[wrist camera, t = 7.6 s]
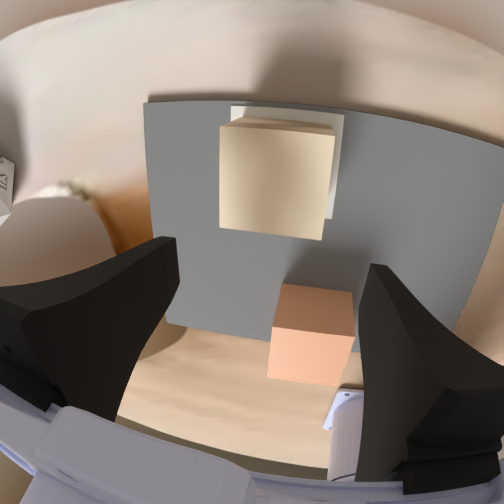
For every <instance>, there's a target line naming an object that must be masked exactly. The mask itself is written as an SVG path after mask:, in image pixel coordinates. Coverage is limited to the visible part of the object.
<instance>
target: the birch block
mask: <svg viewBox="0 0 504 504" xmlns="http://www.w3.org/2000/svg"><path fill="white" fill-rule="evenodd" d="M334 141H335V135H334V132H333V129H332V126H331V124H323V123H315V122H306V121H297V120H286V119H274V118H260V117H240V118H238V119H236V120H233V121H231V122H229V123H226V124H224V125H222V126H220V152H219V226H220V228H227V229H235V230H244V231H252V232H260V233H268V234H275V235H283V236H291V237H299V238H306V239H314V240H321V239H322V233H323V226H324V220H325V213H326V206H327V198H328V191H329V183H330V176H331V167H332V159H333V150H334Z"/></svg>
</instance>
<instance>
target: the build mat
mask: <svg viewBox="0 0 504 504" xmlns="http://www.w3.org/2000/svg"><path fill="white" fill-rule="evenodd" d="M143 108H144V133H145V151H146V165H147V178H148V190H149V200H150V210H151V219H152V228H153V236H154V238H157V237H160V236H167V237H175V238H176V244H177V255H178V265H179V275H180V284H179V286H178V289H177V291H176V294H175V296H174V298H173V300H172V302H171V304H170V306H169V307H168V309H167V311H166V312H165V315H166V320H167V323H172V324H176V325H181V326H186V327H191V328H196V329H201V330H206V331H211V332H216V333H222V334H227V335H233V336H239V337H245V338H251V339H257V340H263V341H270V342H271V334H272V325H273V321H274V316H275V312H276V307H277V303H278V298H279V294H280V289H281V284H282V283H284V284H292V285H299V286H307V287H315V288H322V289H330V290H338V291H346V292H352V300H353V312H354V325H355V339H354V342H353V345H352V348H351V351H350V352H359V353H361V352H360V343H359V334H358V308H359V304H360V301H361V297H362V294H363V290H364V286H365V283H366V279H367V275H368V272H369V268H370V264H371V263H374V264H382V265H387V266H388V267H389V268H390V269H391V270H392V271H393V272H394V273H395V274H396V276H397V277H398V278H399V279H400V280H401V281H402V283H403V284H404V285H405V286H406V287H407V288H408V289H409V291H410V292H411V293H412V294H413V295H414V296H415V297H416V298H417V299H418V301H419V302H420V303H421V304H422V305H423V306H424V307H425V308H426V309H427V310H428V311H429V312H430V313H431V314H432V315H433V316H434V317H435V318H436V319H437V320H438V321H439V322H441V323H442V324H443V325H444V326H445V327H446V328H447V329H449V330H450V331H451V332H452V330H453V328H454V326H455V324H456V322H457V320H458V318H459V316H460V314H461V312H462V310H463V308H464V306H465V303H466V301H467V299H468V297H469V295H470V292H471V290H472V288H473V286H474V283H475V281H476V278H477V276H478V274H479V271H480V269H481V266H482V264H483V261H484V258H485V256H486V253H487V250H488V248H489V245H490V242H491V239H492V236H493V233H494V230H495V227H496V224H497V221H498V218H499V214H500V211H501V208H502V204H503V201H504V147H501V146H498V145H495V144H492V143H489V142H486V141H483V140H480V139H477V138H473V137H470V136H467V135H463V134H460V133H456V132H453V131H449V130H445V129H441V128H437V127H433V126H429V125H425V124H421V123H417V122H412V121H408V120H403V119H398V118H393V117H388V116H383V115H377V114H371V113H365V112H359V111H353V110H346V109H338V108H331V107H323V106H314V105H304V104H292V103H279V102H263V101H237V100H190V101H165V102H149V103H143ZM240 117H260V118H274V119H286V120H297V121H306V122H315V123H323V124H331V126H332V129H333V132H334V135H335V141H334V150H333V159H332V167H331V176H330V183H329V191H328V198H327V206H326V213H325V220H324V226H323V233H322V239H321V240H314V239H306V238H299V237H291V236H283V235H275V234H268V233H260V232H252V231H244V230H235V229H227V228H220V226H219V152H220V126H222V125H224V124H226V123H229V122H231V121H233V120H236V119H238V118H240Z"/></svg>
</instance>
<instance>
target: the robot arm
mask: <svg viewBox="0 0 504 504" xmlns="http://www.w3.org/2000/svg"><path fill="white" fill-rule="evenodd" d="M179 284H180V275H179V265H178V255H177V244H176V238H175V237H167V236H160V237H157V238H154V239H152V240H149V241H147V242H145V243H143V244H140V245H138V246H136V247H134V248H132V249H130V250H128V251H126V252H124V253H122V254H119V255H117V256H115V257H113V258H110V259H108V260H106V261H104V262H101V263H99V264H97V265H94V266H92V267H89V268H86V269H84V270H81V271H78V272H75V273H72V274H68V275H65V276H61V277H57V278H54V279H50V280H46V281H41V282H36V283H30V284H24V285H15V286H4V287H0V451H2V452H3V453H4V454H5V455H6V456H8V457H9V458H10V459H11V460H13V461H14V462H15V463H16V464H18V465H19V466H20V467H22V468H23V469H25V470H26V471H27V472H29V473H30V474H32V475H33V476H34V478H33V480H32V482H31V484H30V486H29V488H28V489H27V491H26V493H25V494H24V497H23V498H22V500H21V502H20V504H504V458H502V459H501V460H498V454H497V452H499V451H500V450H501V449H502V443H501V437H502V436H503V435H504V366H502V365H500V364H498V363H496V362H494V361H493V360H491V359H489V358H488V357H486V356H484V355H483V354H481V353H480V352H478V351H477V350H475V349H474V348H472V347H471V346H469V345H468V344H467V343H465V342H464V341H462V340H461V339H460V338H458V337H457V336H456V335H455V334H453V333H452V332H451V331H450V330H449V329H447V328H446V327H445V326H444V325H443V324H442V323H441V322H439V321H438V320H437V319H436V318H435V317H434V316H433V315H432V314H431V313H430V312H429V311H428V310H427V309H426V308H425V307H424V306H423V305H422V304H421V303H420V302H419V301H418V299H417V298H416V297H415V296H414V295H413V294H412V293H411V292H410V291H409V289H408V288H407V287H406V286H405V285H404V284H403V283H402V281H401V280H400V279H399V278H398V277H397V276H396V274H395V273H394V272H393V271H392V270H391V269H390V268H389V267H388V266H387V265H382V264H374V263H371V264H370V268H369V272H368V275H367V279H366V283H365V286H364V290H363V294H362V297H361V301H360V304H359V308H358V334H359V343H360V352H361V361H362V370H363V381H364V390H357V389H345V388H341V389H339V390H338V391H337V393H336V395H335V398H334V400H333V402H332V405H331V407H330V410H329V412H328V414H327V417H326V419H325V421H324V423H323V429H325V430H331V442H330V455H329V466H328V476H327V481H325V480H312V479H301V478H293V477H284V476H277V475H270V474H264V473H257V472H252V471H247V470H245V469H243V468H241V467H240V466H237V465H236V464H234V463H232V462H230V461H228V460H226V459H223V458H220V457H217V456H214V455H211V454H208V453H205V452H202V451H199V450H195V449H192V448H188V447H185V446H181V445H178V444H174V443H171V442H168V441H164V440H161V439H158V438H155V437H152V436H149V435H146V434H143V433H140V432H138V431H134V430H132V429H129V428H127V427H124V426H121V425H119V424H116V423H114V422H115V418H116V415H117V412H118V409H119V406H120V403H121V400H122V397H123V394H124V391H125V389H126V386H127V384H128V381H129V379H130V376H131V374H132V371H133V369H134V367H135V364H136V362H137V360H138V357H139V356H140V353H141V351H142V350H143V348H144V346H145V344H146V342H147V341H148V339H149V338H150V336H151V334H152V333H153V331H154V330H155V328H156V326H157V325H158V323H159V322H160V320H161V319H162V317H163V315H164V314H165V312H166V311H167V309H168V307H169V306H170V304H171V302H172V300H173V298H174V296H175V294H176V291H177V289H178V286H179Z"/></svg>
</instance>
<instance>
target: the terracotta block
mask: <svg viewBox="0 0 504 504" xmlns="http://www.w3.org/2000/svg"><path fill="white" fill-rule="evenodd" d="M354 339H355V325H354V312H353V300H352V292H346V291H338V290H330V289H322V288H315V287H307V286H299V285H292V284H284V283H282V284H281V289H280V294H279V298H278V303H277V307H276V312H275V316H274V321H273V325H272V334H271V344H270V353H269V362H268V371H267V377H268V378H275V379H281V380H288V381H296V382H303V383H312V384H320V385H330V386H338V383H339V381H340V378H341V376H342V373H343V370H344V368H345V365H346V362H347V359H348V357H349V354H350V351H351V348H352V345H353V342H354Z"/></svg>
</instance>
